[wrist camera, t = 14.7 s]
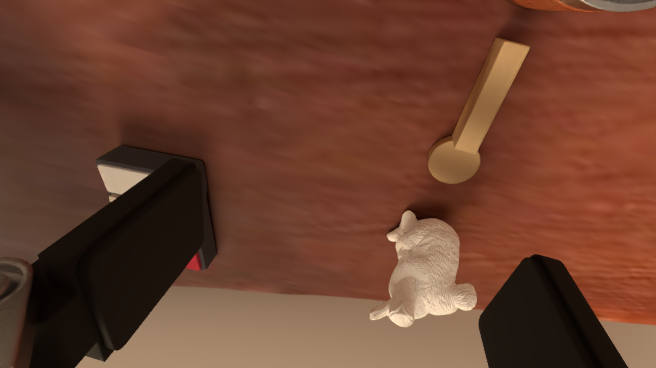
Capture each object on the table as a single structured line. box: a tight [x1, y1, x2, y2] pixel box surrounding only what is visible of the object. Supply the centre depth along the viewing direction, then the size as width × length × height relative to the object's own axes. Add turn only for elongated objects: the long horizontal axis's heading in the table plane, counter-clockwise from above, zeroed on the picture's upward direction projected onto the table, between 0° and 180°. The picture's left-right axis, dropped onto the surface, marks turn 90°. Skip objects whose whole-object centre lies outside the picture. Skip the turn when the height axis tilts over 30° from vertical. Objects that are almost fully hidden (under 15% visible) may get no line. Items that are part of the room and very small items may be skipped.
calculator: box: [96, 146, 217, 271], centre depth 38 cm, size 11×4×15 cm
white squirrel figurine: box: [369, 210, 477, 327], centre depth 29 cm, size 8×7×12 cm
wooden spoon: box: [428, 37, 530, 184], centre depth 26 cm, size 12×4×3 cm, turn 168°
